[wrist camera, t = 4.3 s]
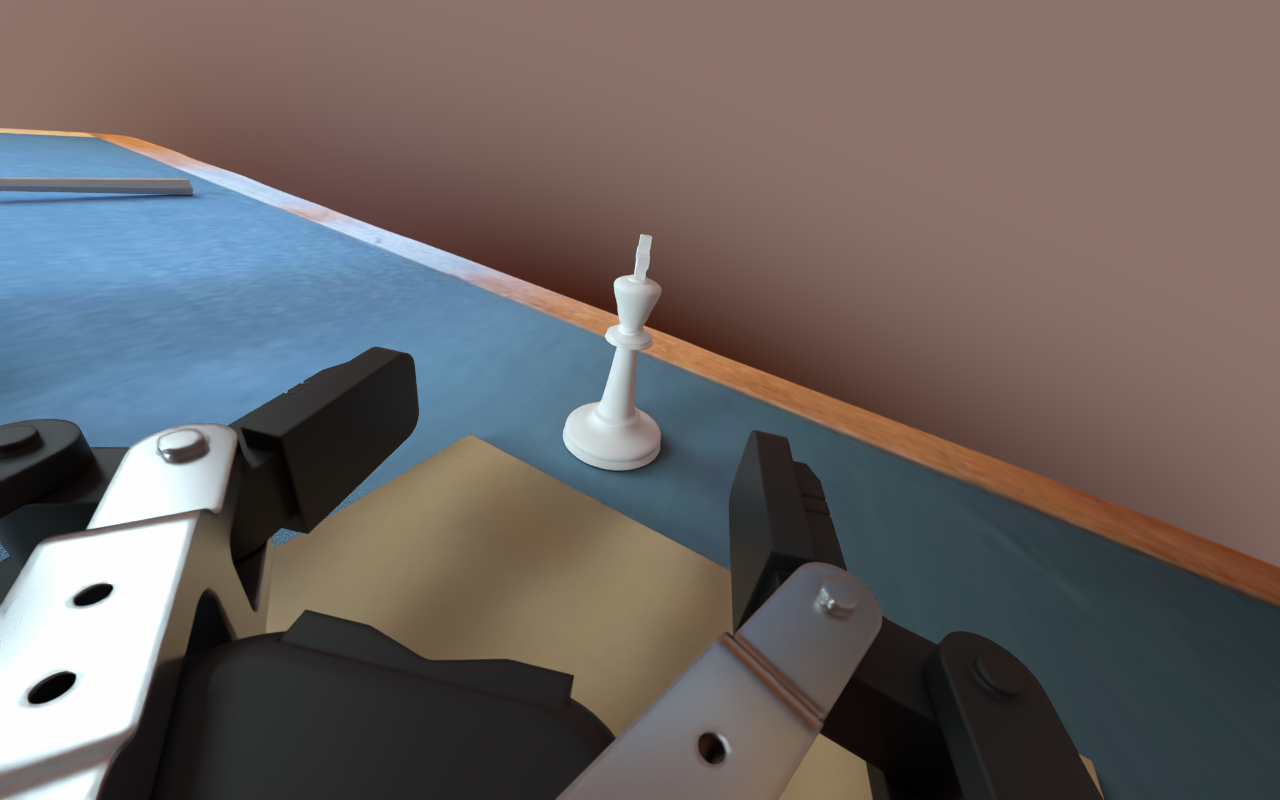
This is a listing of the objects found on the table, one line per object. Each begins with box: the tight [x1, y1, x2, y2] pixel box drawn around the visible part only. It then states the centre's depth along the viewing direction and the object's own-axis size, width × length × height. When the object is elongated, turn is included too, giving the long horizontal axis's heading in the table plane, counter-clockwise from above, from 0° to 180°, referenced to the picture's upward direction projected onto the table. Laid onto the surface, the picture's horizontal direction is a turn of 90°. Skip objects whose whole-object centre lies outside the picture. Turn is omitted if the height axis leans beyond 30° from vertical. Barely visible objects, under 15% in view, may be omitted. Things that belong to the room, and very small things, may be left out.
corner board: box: [266, 434, 1104, 800], centre depth 11 cm, size 24×15×1 cm, turn 62°
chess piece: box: [563, 234, 661, 470], centre depth 21 cm, size 5×5×10 cm
